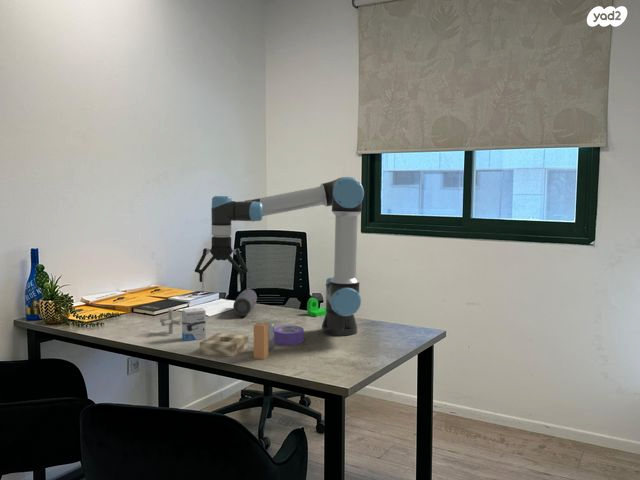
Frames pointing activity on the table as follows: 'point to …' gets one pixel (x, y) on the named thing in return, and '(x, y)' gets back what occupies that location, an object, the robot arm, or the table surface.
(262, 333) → the square bit
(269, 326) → the round bit
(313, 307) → the mechanical part
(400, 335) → the table surface
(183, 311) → the ink box
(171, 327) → the pipe connector
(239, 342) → the socket block
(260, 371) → the table surface
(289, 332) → the tape roll
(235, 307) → the bluetooth speaker
